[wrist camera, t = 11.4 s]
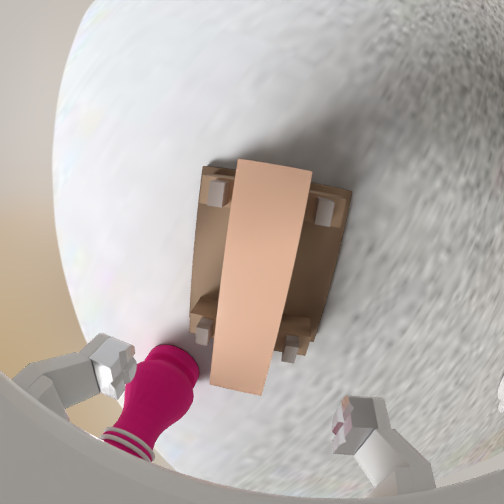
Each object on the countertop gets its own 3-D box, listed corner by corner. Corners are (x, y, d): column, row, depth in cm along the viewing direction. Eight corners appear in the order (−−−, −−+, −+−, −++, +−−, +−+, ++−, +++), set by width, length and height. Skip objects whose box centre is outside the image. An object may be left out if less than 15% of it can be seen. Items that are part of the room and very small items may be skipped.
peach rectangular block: (308, 170, 18) (312, 171, 14) (266, 363, 23) (261, 395, 19) (248, 160, 18) (237, 158, 15) (221, 353, 23) (209, 384, 20)
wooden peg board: (349, 190, 22) (366, 198, 17) (313, 336, 26) (315, 373, 21) (206, 166, 23) (182, 167, 18) (192, 312, 27) (172, 343, 22)
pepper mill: (153, 329, 29) (46, 471, 10) (212, 359, 29) (142, 526, 10) (141, 369, 31) (59, 491, 12) (193, 395, 31) (133, 532, 12)
